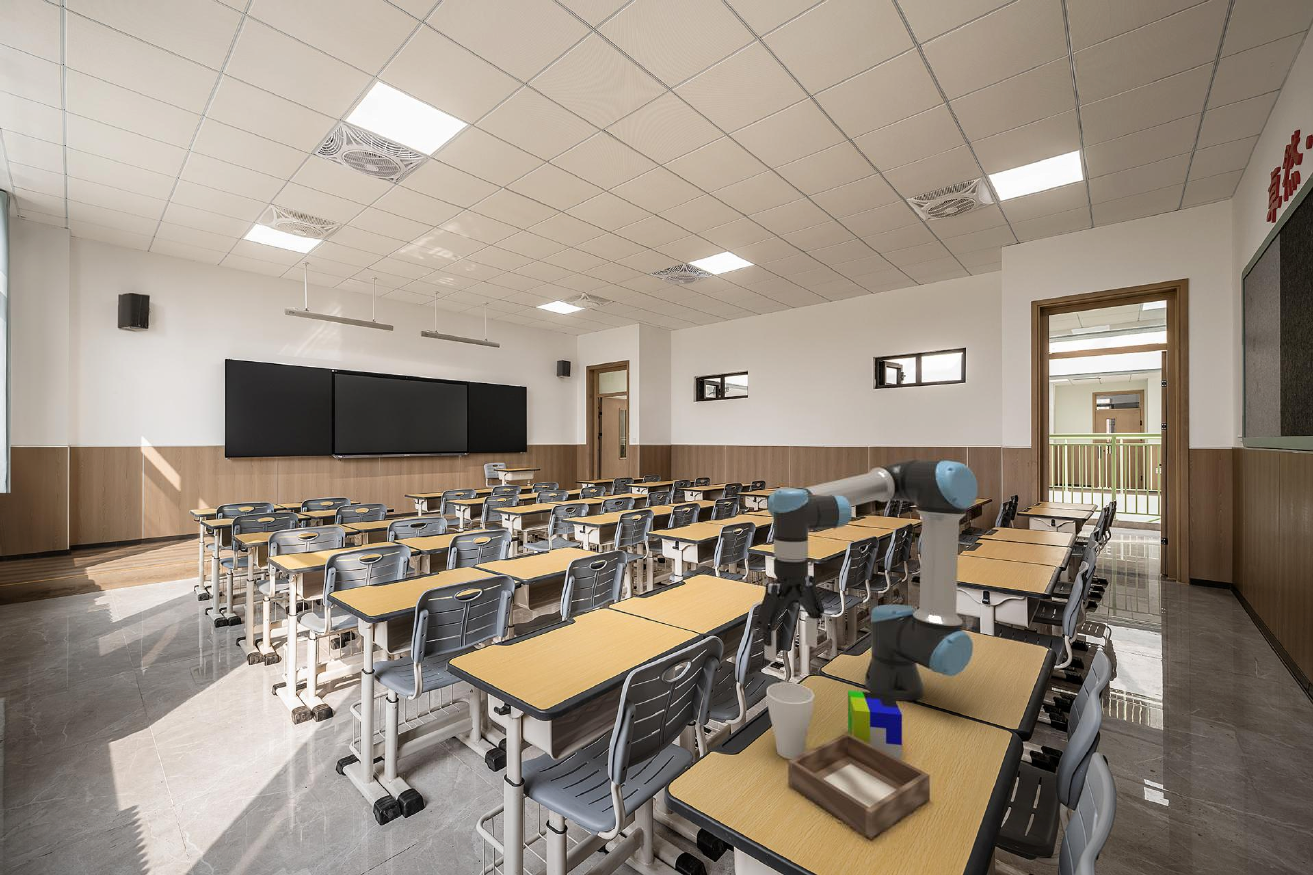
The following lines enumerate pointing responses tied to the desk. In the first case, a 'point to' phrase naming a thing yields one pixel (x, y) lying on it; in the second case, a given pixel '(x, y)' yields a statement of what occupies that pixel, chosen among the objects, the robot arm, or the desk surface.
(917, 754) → the desk surface
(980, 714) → the desk surface
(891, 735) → the puzzle toy
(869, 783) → the walled box
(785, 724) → the cup
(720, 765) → the desk surface
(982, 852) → the desk surface
